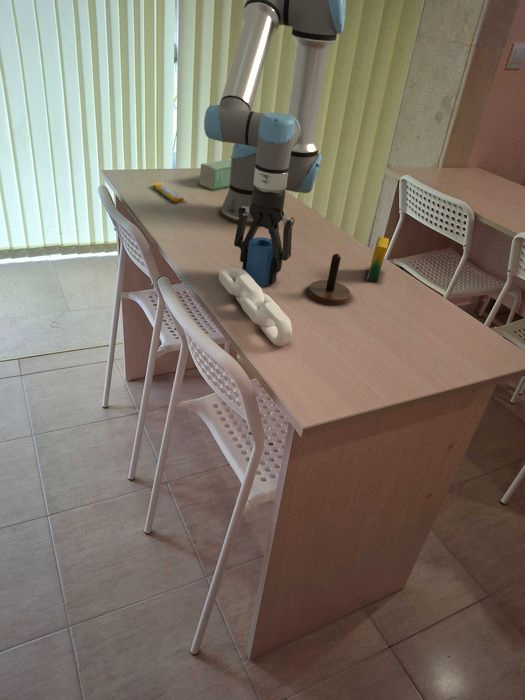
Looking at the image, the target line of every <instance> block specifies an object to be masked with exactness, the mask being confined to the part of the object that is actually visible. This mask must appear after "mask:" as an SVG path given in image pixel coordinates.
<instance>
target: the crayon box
mask: <svg viewBox="0 0 525 700" xmlns="http://www.w3.org/2000/svg"><path fill="white" fill-rule="evenodd" d="M380 234H381V229H380V230H379V233H378V236H377V239H376V243H375V247H374V251H373V255H372V259H371V264H370V267H369V270H368V274H367V278H366V280H367V281H370V282H374V283H378V282H379V278H380V275H381V271H382V268H383V264H384V259H385V256H386V253H387V249H388V245H389V242H390V239H389V238H388V237H383V236H380Z"/></svg>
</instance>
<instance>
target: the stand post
mask: <svg viewBox="0 0 525 700" xmlns="http://www.w3.org/2000/svg"><path fill="white" fill-rule="evenodd" d="M341 258H342V257H341V255H340V253H334V254H333V255H332V256H331V262H330V266H329V271H328V276H327V280H328V281H327V286H326V290H327V291H334V288H335V283H336V282H337V278H338V273H339V268H340V263H341Z"/></svg>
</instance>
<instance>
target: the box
mask: <svg viewBox="0 0 525 700" xmlns="http://www.w3.org/2000/svg"><path fill="white" fill-rule="evenodd" d="M230 171H231V160H230V159H223V160H218V161H211V162H205V163H200V171H199V172H200V174H199V185H200V186H202V187H204V188H207V189H209V190H212V191H214V190H218V189H223V188H228V187H229V186H230Z"/></svg>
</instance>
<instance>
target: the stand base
mask: <svg viewBox="0 0 525 700" xmlns="http://www.w3.org/2000/svg"><path fill="white" fill-rule="evenodd" d="M327 281H328V279H321V280H315V281H313V282H311V284H310V285H309V288H308V294H309V296H310V297H311V299H313V300H314V301H316V302H318V303H320V304H323V305H329V306H340V305H344V304H347V302H349V300H350V295H351V291H350V289H349V288H348V287H347V286H346V285H344V284H342V283H340V282H337V281H336V283H335V288H334V291H327V290H326V286H327Z"/></svg>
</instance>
